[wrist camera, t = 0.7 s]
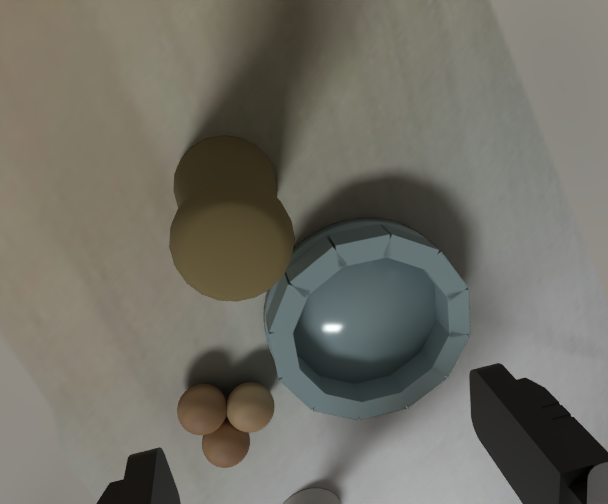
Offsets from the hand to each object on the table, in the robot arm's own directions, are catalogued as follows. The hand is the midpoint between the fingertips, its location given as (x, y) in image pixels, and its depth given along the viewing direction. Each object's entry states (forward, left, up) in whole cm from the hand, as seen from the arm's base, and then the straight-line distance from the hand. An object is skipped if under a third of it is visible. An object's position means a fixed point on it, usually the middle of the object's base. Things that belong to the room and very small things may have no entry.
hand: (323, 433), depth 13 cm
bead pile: (+13, -5, -20) cm, 24 cm away
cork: (-2, -2, -20) cm, 20 cm away
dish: (+8, +5, -20) cm, 22 cm away
